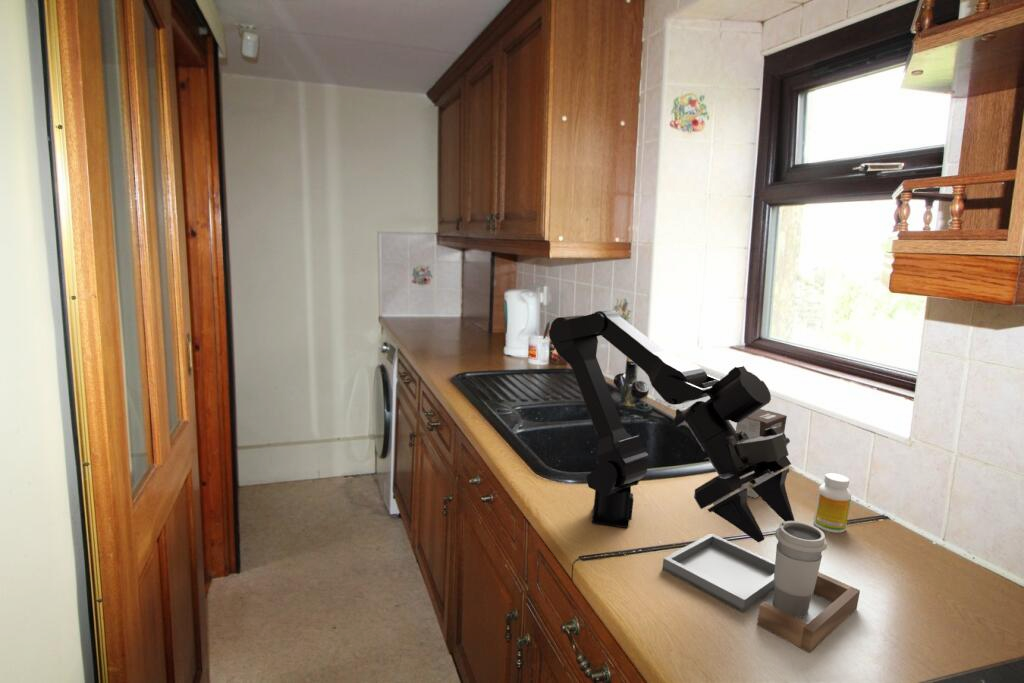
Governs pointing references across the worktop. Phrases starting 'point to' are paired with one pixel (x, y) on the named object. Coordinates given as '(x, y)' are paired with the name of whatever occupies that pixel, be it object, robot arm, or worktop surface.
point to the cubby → (822, 624)
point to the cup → (797, 566)
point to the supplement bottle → (833, 503)
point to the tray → (723, 571)
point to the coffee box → (759, 433)
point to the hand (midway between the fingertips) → (777, 531)
